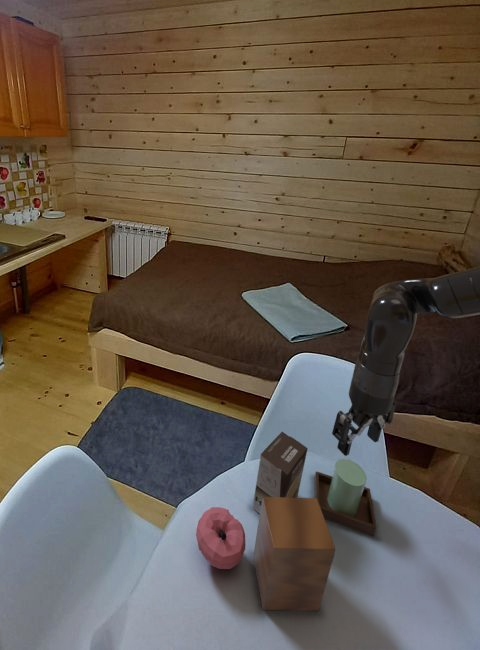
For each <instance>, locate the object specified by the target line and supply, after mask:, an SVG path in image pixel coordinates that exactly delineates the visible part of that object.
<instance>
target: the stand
mask: <svg viewBox="0 0 480 650" xmlns="http://www.w3.org/2000/svg"><path fill="white" fill-rule="evenodd" d="M336 550H337V548H336V546H335V543H334V541H333V538H332V536H331V532H330V530H329V527H328V525H327V522H326V519H325V518H324V516H323V514H322V511H321V508H320V506H319V503H318V500H317V498H315V497H297V498H283V497H262V503H261V510H260V514H259V516H258V524H257V529H256V536H255V542H254V549H253V557H252V558H253V563H254V568H255V575H256V580H257V586H258V591H259V597H260V604H261V608H262V611H296V612H297V611H302V612H319V611H320V607H321V603H322V600H323V597H324V593H325V589H326V586H327V582H328V579H329V575H330V571H331V568H332V565H333V561H334V557H335V553H336Z"/></svg>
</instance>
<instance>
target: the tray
mask: <svg viewBox="0 0 480 650" xmlns="http://www.w3.org/2000/svg"><path fill="white" fill-rule="evenodd" d="M332 476H333V475H329V474H326V473H323V472H321V471H317V470H316V471H315V474H314V478H313V487H314V490H313V491H314V492H313V493H314V495H313V497H314V498H317V500H318V503H319V506H320V508H321V511H322V514H323V516H324V519H325V520H328V521H331V522H334V523H337V524H339V525H341V526H344V527H347V528H351V529H353V530H355V531H358V532H361V533H364V534H366V535H370V536H372V537H374V536H375V534H376V531H377V523H376V517H375V511H374V505H373V500H372V493H371V488H369V487H366V486H365V487H364V491H363V494H362V497H361V501H360V504H359V508H358V511H357V514H356V516H354V517H351V516H348V515H345V514H343V513H340V512H337V511H334V510H332V508H331V507H330V505H329V503H328V499H327V496H328V492H329V488H330V484H331V480H332Z"/></svg>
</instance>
